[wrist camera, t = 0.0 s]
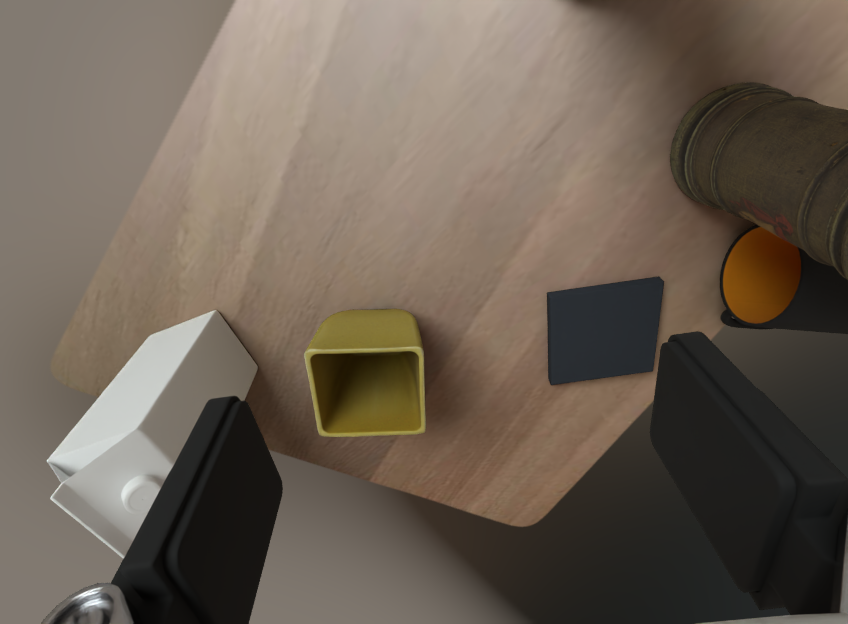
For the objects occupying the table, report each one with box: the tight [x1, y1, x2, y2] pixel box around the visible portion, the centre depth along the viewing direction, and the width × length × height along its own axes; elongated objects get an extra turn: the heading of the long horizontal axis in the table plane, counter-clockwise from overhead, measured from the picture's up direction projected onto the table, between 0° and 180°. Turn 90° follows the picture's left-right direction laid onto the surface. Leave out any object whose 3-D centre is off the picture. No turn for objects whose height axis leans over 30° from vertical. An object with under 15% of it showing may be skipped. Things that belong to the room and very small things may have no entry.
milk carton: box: [47, 310, 258, 559], centre depth 37 cm, size 7×7×19 cm
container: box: [670, 83, 848, 280], centre depth 30 cm, size 9×9×18 cm
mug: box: [720, 225, 848, 334], centre depth 40 cm, size 8×12×10 cm
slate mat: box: [547, 277, 664, 385], centre depth 45 cm, size 10×10×1 cm
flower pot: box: [304, 309, 426, 437], centre depth 41 cm, size 9×9×9 cm
